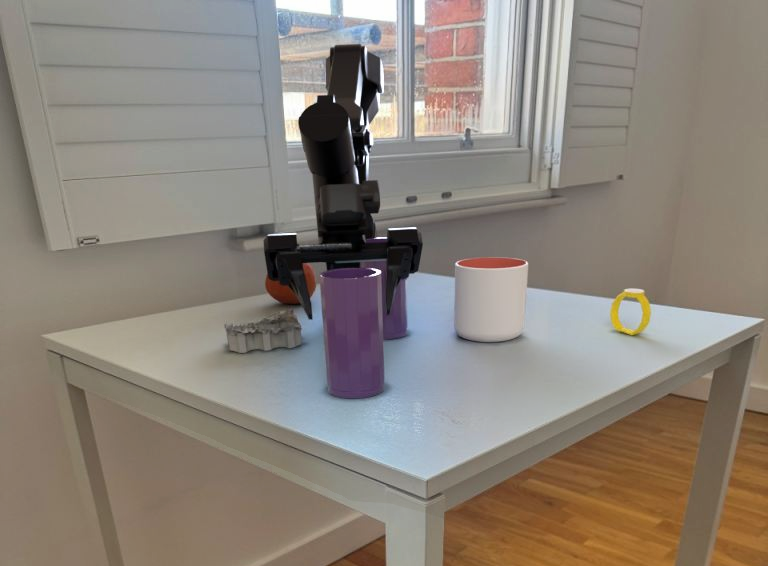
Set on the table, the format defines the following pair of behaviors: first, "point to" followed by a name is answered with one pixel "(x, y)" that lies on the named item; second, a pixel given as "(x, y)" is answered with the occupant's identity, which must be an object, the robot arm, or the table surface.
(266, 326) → the egg carton
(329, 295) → the plum cup
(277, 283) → the fruit
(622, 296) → the watch
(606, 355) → the table surface
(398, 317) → the plum cup
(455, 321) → the cup
